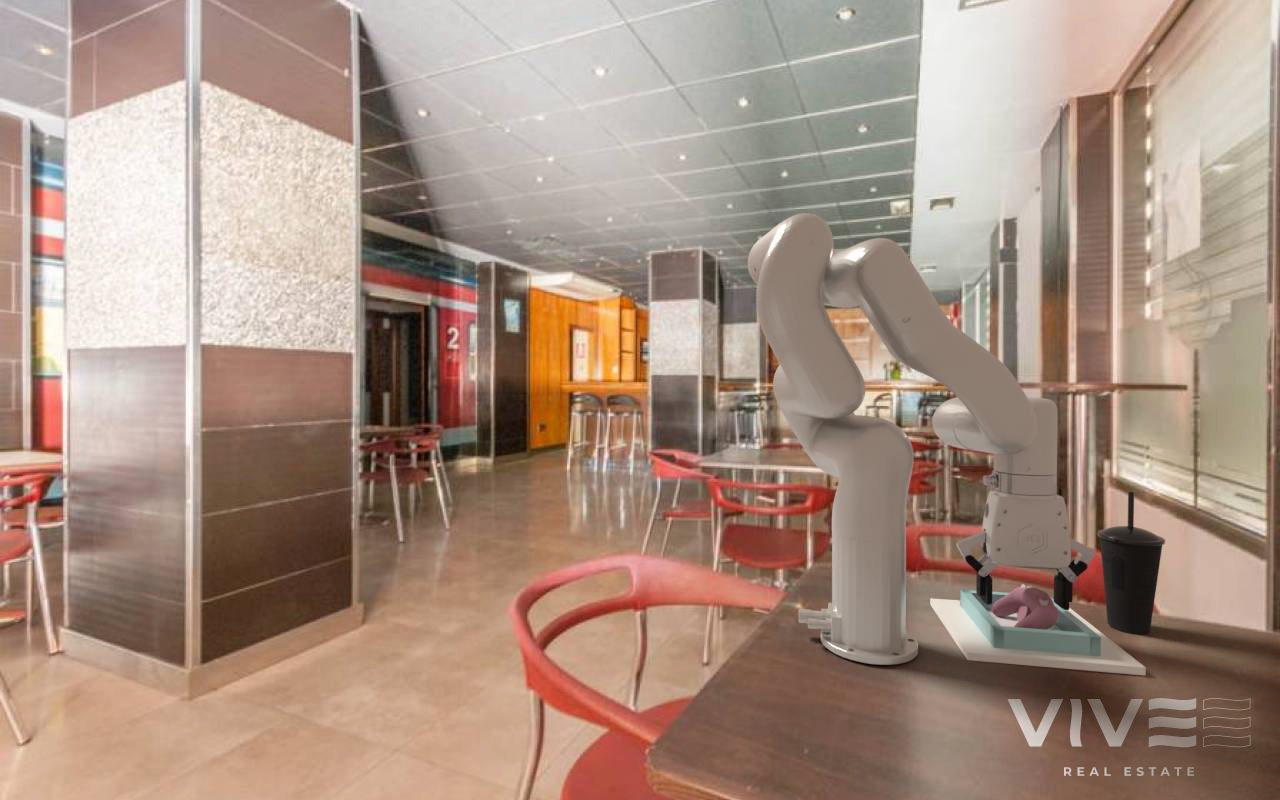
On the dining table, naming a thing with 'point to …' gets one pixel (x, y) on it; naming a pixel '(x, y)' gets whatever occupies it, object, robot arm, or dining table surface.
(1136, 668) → the dock
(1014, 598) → the video game controller
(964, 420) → the robot arm
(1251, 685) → the dining table surface
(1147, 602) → the drinking cup
